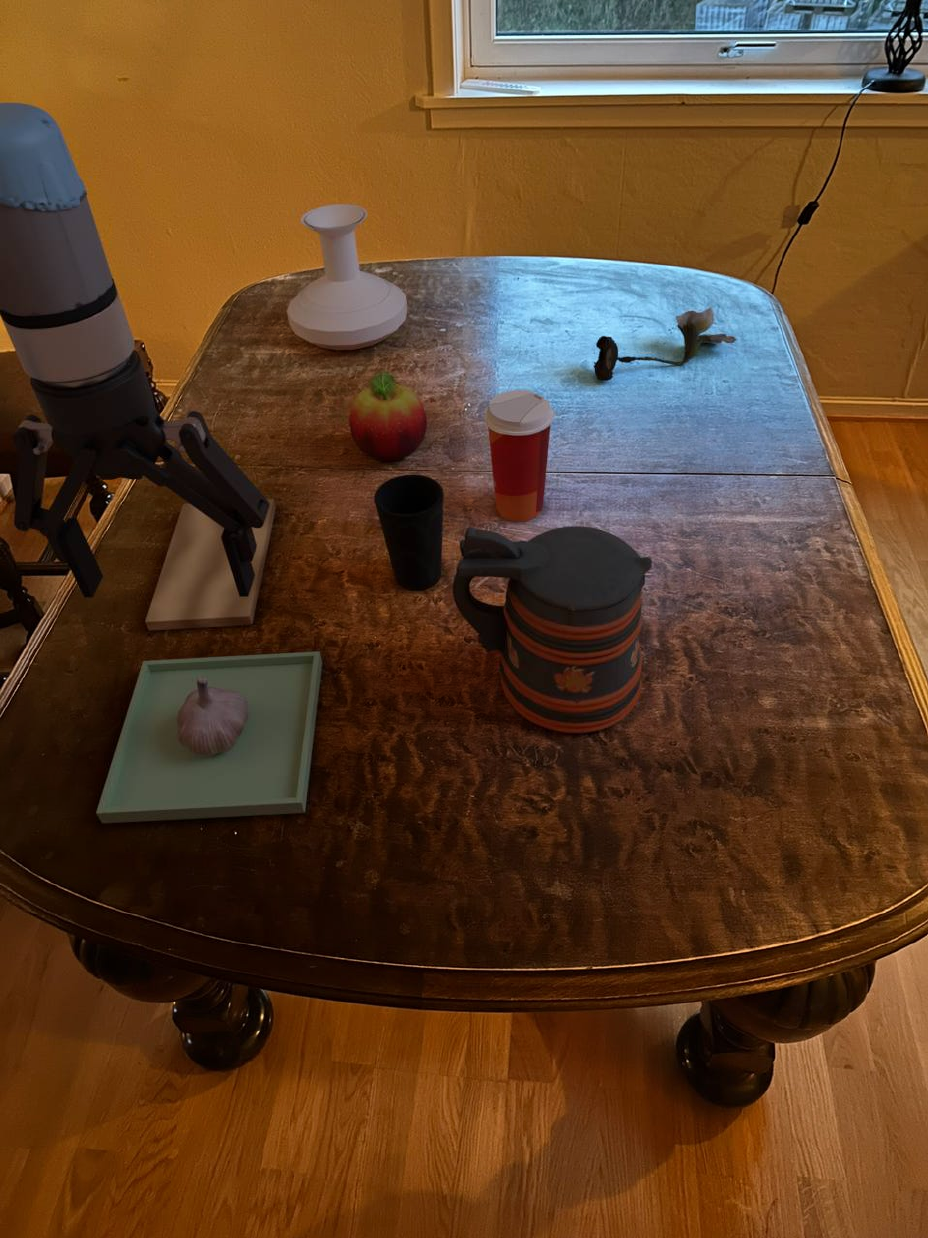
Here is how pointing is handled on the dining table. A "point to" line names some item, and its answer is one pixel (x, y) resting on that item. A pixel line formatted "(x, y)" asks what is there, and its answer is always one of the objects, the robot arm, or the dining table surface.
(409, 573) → the cup
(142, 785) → the green square tray
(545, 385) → the dining table surface
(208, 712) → the garlic bulb
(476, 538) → the beer stein
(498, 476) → the coffee cup
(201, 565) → the cutting board
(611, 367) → the artificial flower
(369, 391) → the fruit
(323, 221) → the white vase
